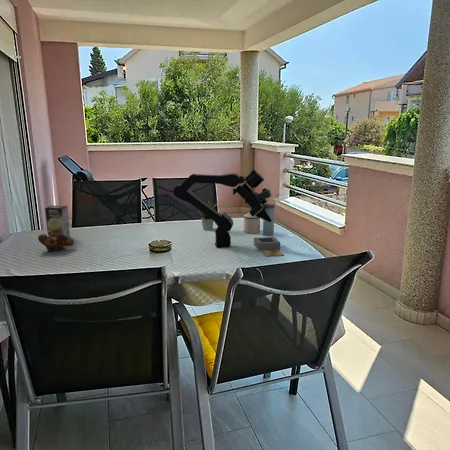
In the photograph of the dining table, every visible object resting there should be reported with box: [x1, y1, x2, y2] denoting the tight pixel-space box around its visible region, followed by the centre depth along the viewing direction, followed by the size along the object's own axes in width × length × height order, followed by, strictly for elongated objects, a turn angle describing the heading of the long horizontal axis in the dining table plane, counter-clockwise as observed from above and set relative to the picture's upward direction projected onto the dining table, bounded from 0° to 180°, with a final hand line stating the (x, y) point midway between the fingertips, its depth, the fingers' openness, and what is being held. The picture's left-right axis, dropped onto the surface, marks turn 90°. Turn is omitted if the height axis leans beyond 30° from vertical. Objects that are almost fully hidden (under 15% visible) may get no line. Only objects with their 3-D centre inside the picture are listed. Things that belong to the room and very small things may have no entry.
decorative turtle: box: [38, 233, 75, 252], centre depth 179 cm, size 10×15×8 cm, turn 111°
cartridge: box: [262, 203, 276, 237], centre depth 178 cm, size 5×5×14 cm
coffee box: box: [44, 205, 71, 238], centre depth 199 cm, size 9×6×16 cm
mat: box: [261, 249, 285, 258], centre depth 174 cm, size 8×8×1 cm
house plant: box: [197, 200, 219, 231], centre depth 214 cm, size 14×14×16 cm
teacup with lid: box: [243, 211, 261, 235], centre depth 210 cm, size 12×9×12 cm
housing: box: [253, 236, 281, 252], centre depth 183 cm, size 10×10×4 cm
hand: (271, 220), depth 178 cm, fingers closed on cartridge, 5 cm apart
